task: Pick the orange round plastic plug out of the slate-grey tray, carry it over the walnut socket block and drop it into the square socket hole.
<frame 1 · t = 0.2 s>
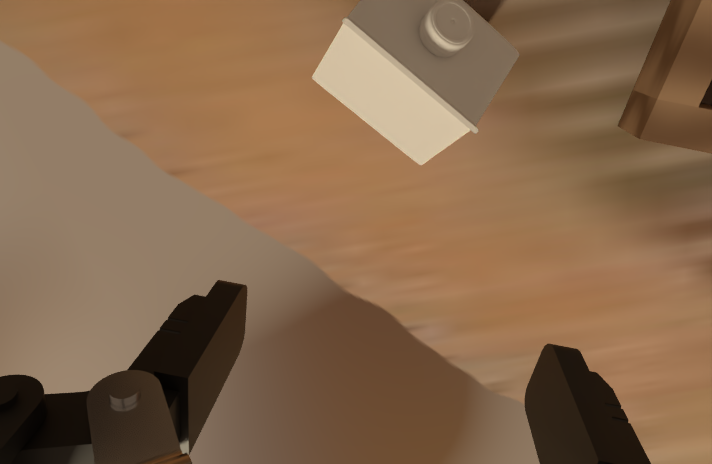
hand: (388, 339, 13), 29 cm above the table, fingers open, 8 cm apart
milk carton: (412, 42, 37), on the table
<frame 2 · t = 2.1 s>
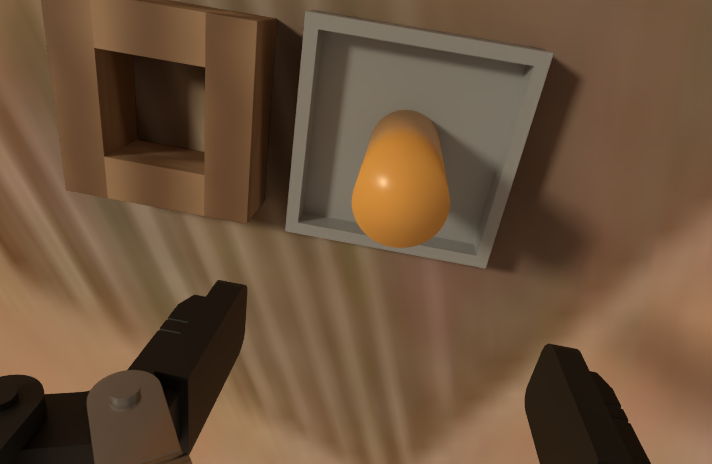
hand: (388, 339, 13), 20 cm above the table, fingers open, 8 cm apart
plug: (404, 144, 30), point 1 cm above the table, touching tray
tray: (405, 141, 31), on the table
socket block: (181, 101, 32), on the table
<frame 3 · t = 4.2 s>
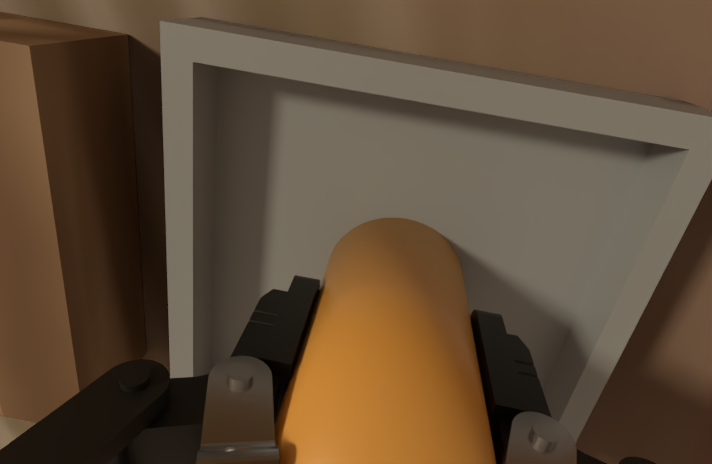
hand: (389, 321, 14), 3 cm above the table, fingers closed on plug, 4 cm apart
plug: (393, 279, 16), point 1 cm above the table, touching gripper, tray
tray: (394, 266, 16), on the table
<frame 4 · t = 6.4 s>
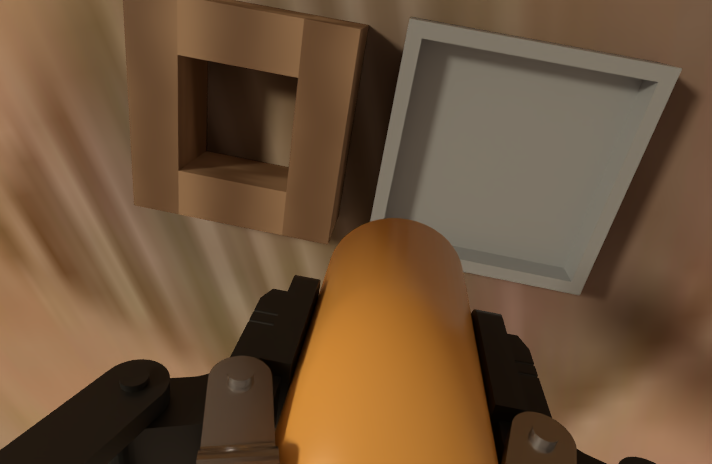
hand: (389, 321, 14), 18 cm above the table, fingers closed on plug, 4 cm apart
plug: (394, 279, 16), point 16 cm above the table, touching gripper
tray: (497, 158, 29), on the table
socket block: (257, 111, 30), on the table
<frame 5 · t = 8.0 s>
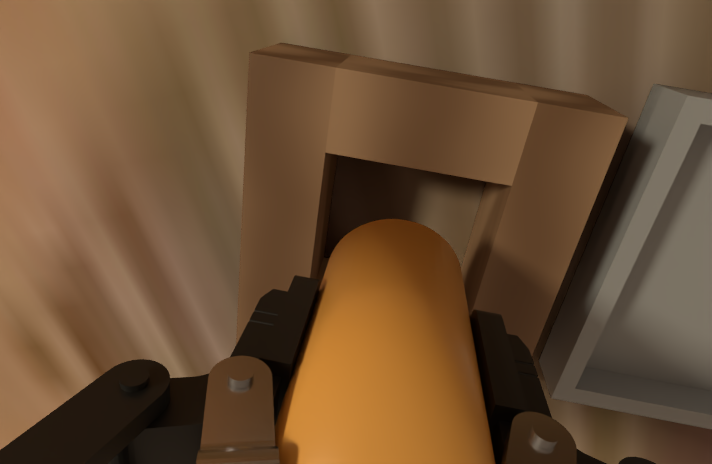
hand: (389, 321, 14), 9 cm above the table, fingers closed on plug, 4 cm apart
plug: (393, 280, 16), point 6 cm above the table, touching gripper
socket block: (402, 208, 21), on the table
when the fingers open (5 cm above the table, at t = 9.0 s): plug drops 3 cm, resting in socket block.
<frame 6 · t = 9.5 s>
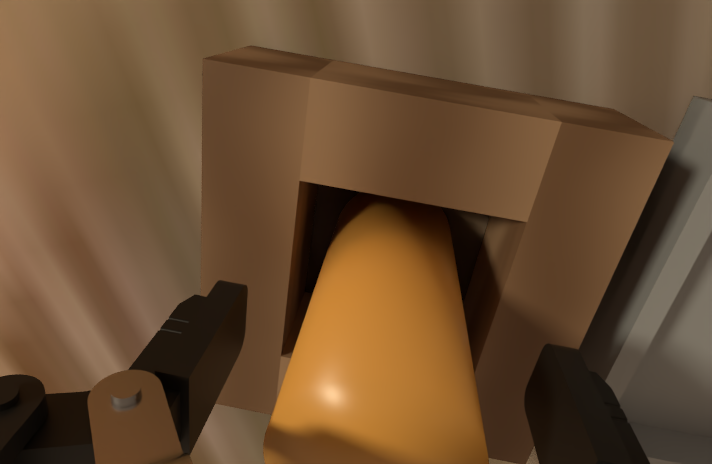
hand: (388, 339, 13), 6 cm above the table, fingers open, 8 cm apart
plug: (392, 238, 18), resting in socket block
socket block: (395, 238, 18), on the table
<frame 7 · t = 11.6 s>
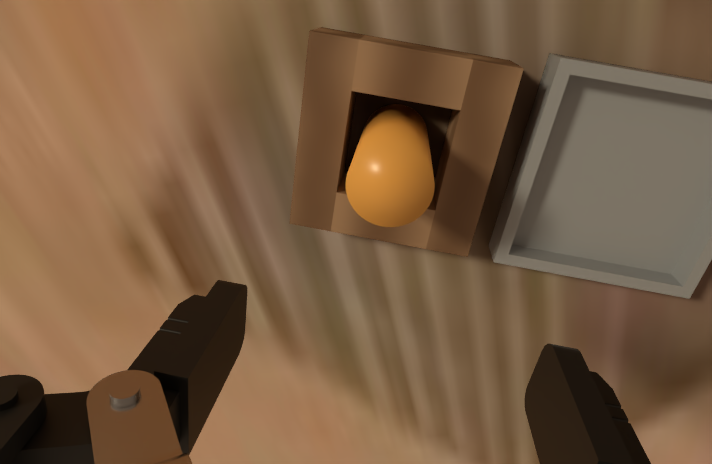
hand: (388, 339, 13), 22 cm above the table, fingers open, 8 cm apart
plug: (395, 136, 33), resting in socket block
tray: (616, 176, 32), on the table
socket block: (397, 136, 33), on the table
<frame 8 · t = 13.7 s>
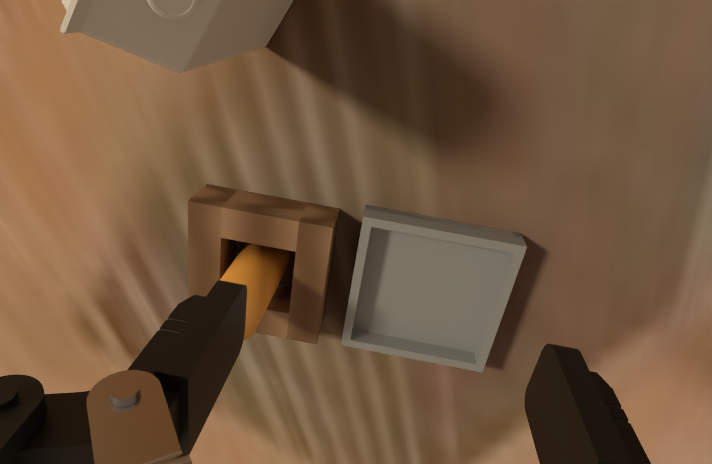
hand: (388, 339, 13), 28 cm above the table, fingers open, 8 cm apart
plug: (267, 254, 45), resting in socket block
tray: (426, 284, 44), on the table
socket block: (268, 254, 45), on the table
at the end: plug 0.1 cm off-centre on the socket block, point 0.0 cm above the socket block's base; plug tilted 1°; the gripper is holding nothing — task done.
